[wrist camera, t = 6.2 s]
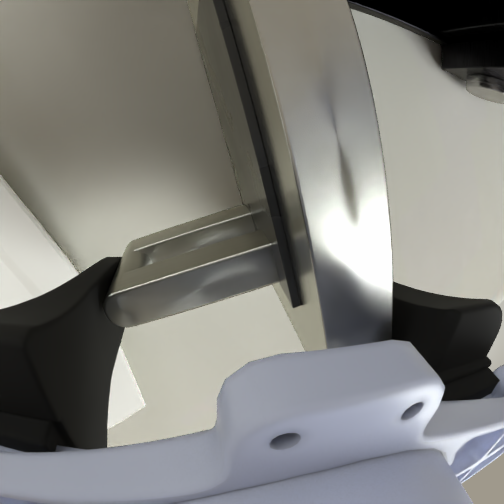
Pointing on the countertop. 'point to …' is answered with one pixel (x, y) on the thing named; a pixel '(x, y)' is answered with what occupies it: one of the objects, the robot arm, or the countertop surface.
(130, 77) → the countertop surface
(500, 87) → the microwave
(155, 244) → the microwave door
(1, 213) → the plate
